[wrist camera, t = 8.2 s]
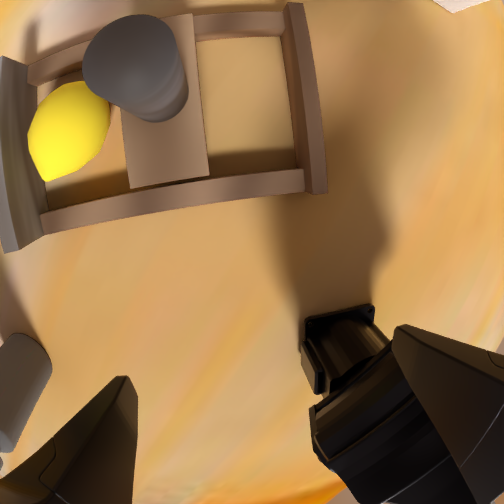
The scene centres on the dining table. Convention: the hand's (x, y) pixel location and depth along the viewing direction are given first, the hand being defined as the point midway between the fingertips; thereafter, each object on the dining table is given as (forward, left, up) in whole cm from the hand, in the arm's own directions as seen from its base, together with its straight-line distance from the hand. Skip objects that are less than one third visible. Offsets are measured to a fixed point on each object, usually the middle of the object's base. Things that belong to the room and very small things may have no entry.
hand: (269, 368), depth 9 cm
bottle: (+22, +8, -13) cm, 27 cm away
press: (+4, -10, -13) cm, 17 cm away
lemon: (+9, -10, -13) cm, 19 cm away
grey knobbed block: (+3, -10, -13) cm, 17 cm away
